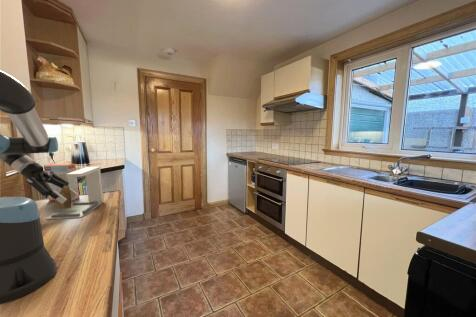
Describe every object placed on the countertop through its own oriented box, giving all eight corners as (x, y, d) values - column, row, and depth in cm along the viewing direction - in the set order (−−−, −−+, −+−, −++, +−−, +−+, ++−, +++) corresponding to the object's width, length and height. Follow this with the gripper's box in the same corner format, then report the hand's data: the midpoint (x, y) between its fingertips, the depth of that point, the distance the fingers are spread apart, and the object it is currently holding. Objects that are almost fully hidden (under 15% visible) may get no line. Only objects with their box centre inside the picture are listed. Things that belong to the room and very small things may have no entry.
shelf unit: (81, 217, 95) (75, 175, 91) (44, 219, 93) (38, 176, 90) (104, 201, 115) (100, 166, 112) (75, 202, 113) (70, 167, 110)
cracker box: (80, 198, 120) (75, 163, 117) (71, 202, 114) (66, 165, 111) (58, 197, 122) (53, 162, 118) (48, 201, 116) (42, 164, 112)
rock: (77, 203, 99) (80, 194, 107) (61, 192, 95) (65, 183, 103) (56, 219, 97) (61, 209, 105) (38, 208, 92) (45, 198, 101)
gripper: (40, 168, 107) (78, 197, 111) (1, 178, 87) (49, 212, 91) (50, 158, 107) (87, 187, 111) (13, 166, 87) (60, 200, 91)
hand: (70, 198), depth 101 cm, fingers closed on rock, 7 cm apart
